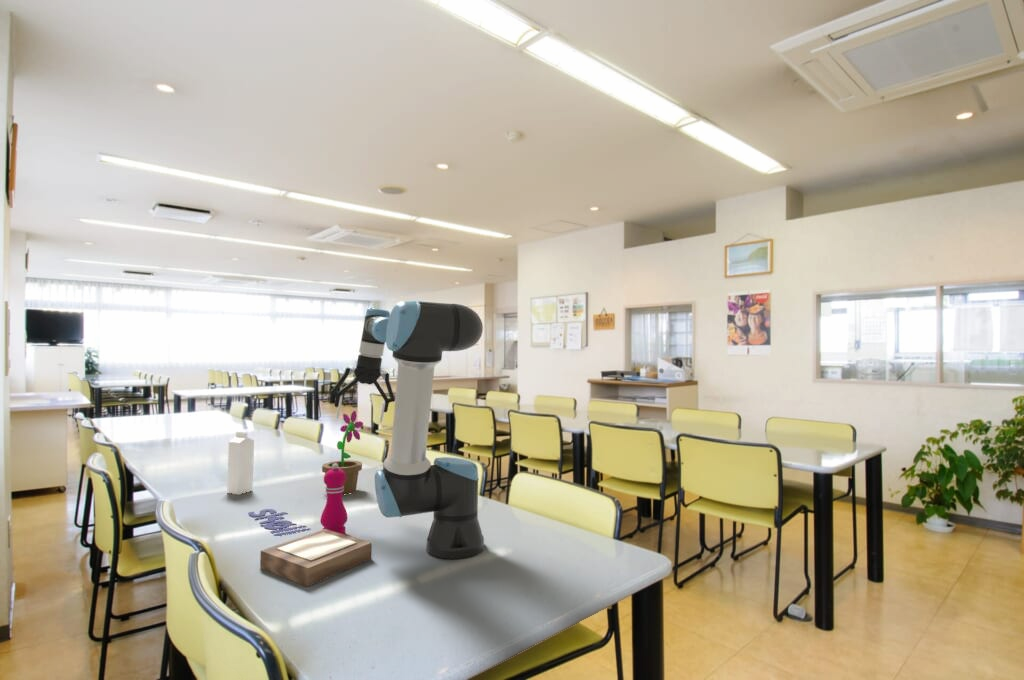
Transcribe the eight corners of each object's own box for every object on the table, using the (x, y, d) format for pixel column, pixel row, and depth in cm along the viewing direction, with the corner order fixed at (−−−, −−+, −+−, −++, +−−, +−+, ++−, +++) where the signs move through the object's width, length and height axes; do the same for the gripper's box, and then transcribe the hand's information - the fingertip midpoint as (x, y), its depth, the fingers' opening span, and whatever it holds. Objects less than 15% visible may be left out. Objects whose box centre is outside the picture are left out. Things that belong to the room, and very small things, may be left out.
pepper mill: (350, 530, 143) (351, 460, 144) (342, 539, 136) (344, 466, 137) (325, 530, 143) (326, 460, 144) (316, 539, 136) (317, 466, 137)
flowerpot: (370, 490, 187) (371, 410, 188) (339, 499, 175) (341, 414, 176) (344, 485, 194) (345, 408, 195) (312, 493, 182) (314, 411, 183)
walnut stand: (371, 558, 123) (371, 541, 123) (307, 586, 108) (308, 566, 108) (324, 544, 132) (325, 527, 132) (260, 567, 117) (260, 549, 117)
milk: (241, 489, 187) (243, 430, 188) (252, 491, 185) (254, 431, 186) (226, 493, 181) (228, 432, 182) (237, 495, 179) (240, 433, 180)
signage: (245, 512, 158) (278, 506, 164) (245, 514, 158) (278, 508, 164) (274, 536, 137) (311, 528, 144) (274, 538, 137) (310, 530, 144)
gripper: (407, 359, 169) (396, 420, 169) (330, 348, 160) (319, 412, 160) (410, 362, 162) (398, 425, 162) (330, 350, 153) (318, 417, 153)
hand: (359, 419), depth 161 cm, fingers open, 13 cm apart
